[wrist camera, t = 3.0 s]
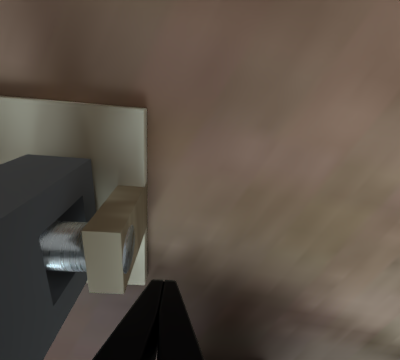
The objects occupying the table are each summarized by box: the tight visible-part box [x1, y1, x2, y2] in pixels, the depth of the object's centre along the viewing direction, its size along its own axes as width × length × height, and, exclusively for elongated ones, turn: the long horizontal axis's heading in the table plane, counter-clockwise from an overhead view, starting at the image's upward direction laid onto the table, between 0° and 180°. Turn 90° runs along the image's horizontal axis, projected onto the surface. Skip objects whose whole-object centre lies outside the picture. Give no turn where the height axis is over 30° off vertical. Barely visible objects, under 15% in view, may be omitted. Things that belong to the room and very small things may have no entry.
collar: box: [0, 154, 96, 360], centre depth 9 cm, size 3×6×7 cm, turn 175°
